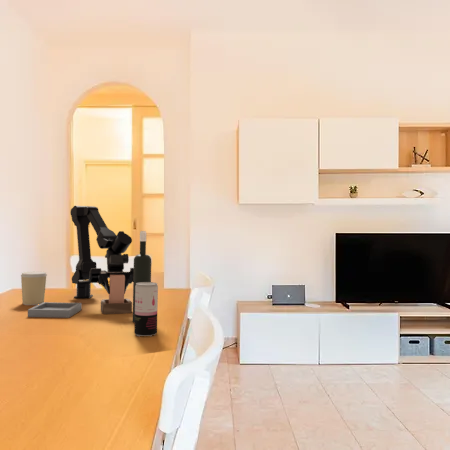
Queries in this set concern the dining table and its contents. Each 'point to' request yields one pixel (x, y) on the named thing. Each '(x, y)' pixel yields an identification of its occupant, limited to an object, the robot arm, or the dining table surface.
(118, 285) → the terracotta block
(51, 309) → the grey square tray
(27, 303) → the coffee cup
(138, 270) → the wine bottle
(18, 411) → the dining table surface
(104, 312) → the walnut sleeve
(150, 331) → the beverage can
